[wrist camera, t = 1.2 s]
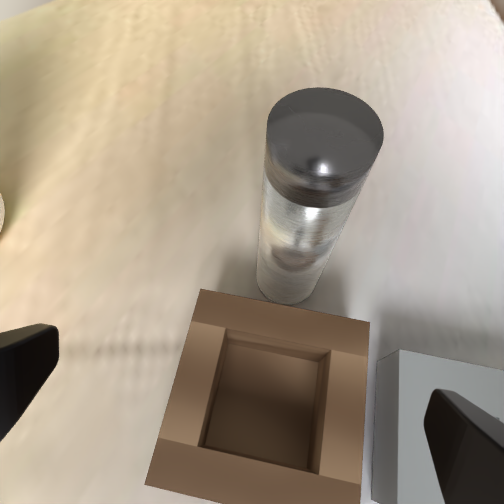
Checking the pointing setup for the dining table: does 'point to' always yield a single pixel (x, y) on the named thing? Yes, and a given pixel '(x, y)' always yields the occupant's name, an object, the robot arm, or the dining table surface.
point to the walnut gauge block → (265, 406)
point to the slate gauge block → (420, 420)
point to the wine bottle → (1, 212)
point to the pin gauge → (310, 185)
